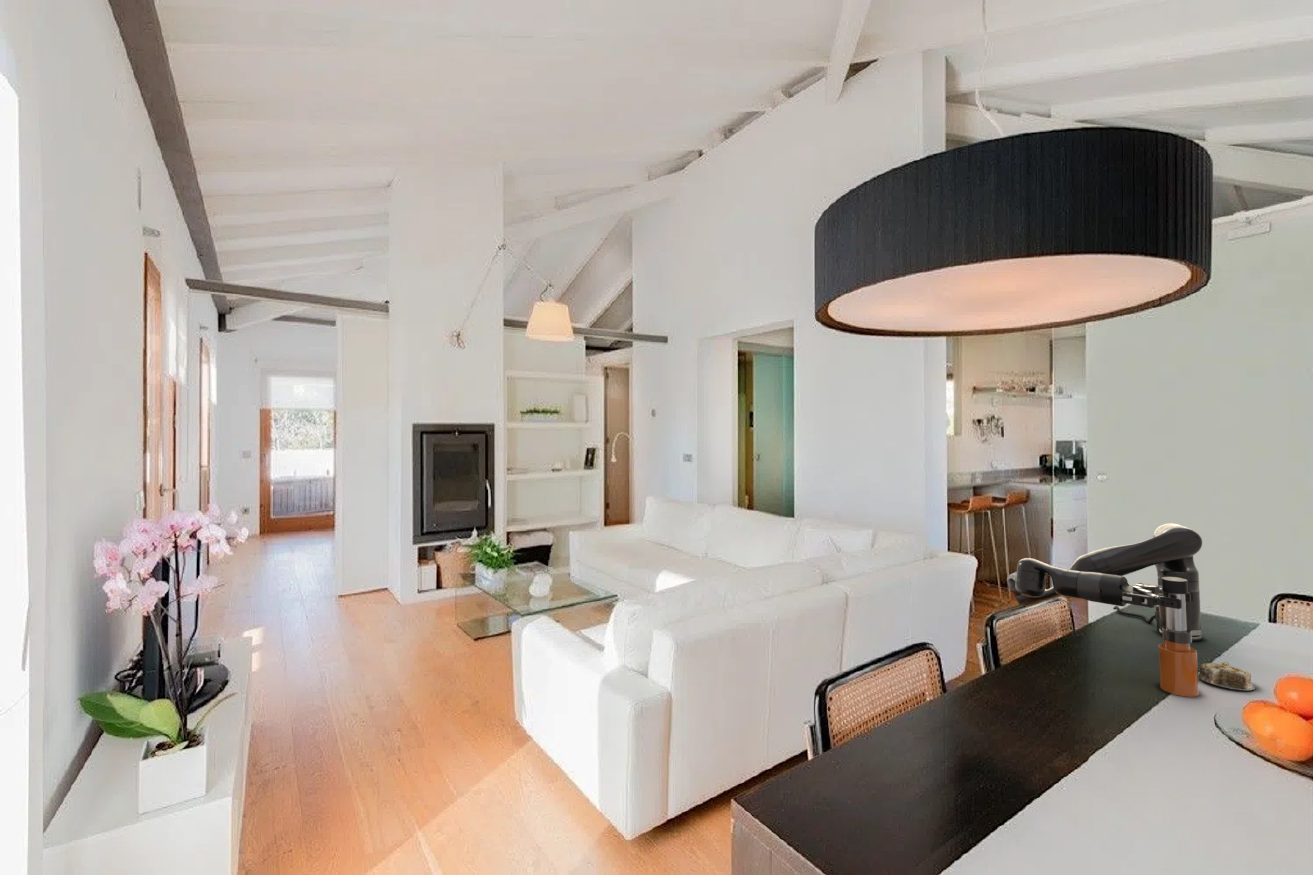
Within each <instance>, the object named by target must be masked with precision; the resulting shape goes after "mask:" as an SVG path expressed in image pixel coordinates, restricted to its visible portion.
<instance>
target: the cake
mask: <svg viewBox="0 0 1313 875" xmlns="http://www.w3.org/2000/svg"><path fill="white" fill-rule="evenodd" d="M1198 679H1200V680H1201V681H1203V682H1205V683H1208V684H1211V685H1214V686H1218V687H1222V688H1227V689H1231V690H1238V691H1254V690H1255V689H1256V687H1255V685H1253V683H1252V674H1251V672H1250V671H1248V670H1245V669H1243V668H1241V667H1238V666H1234V665H1230V663H1229V662H1228V661H1223V662H1220V663H1217V662H1207V663H1206V662H1205V663H1202V664H1201V665H1200V667H1199V670H1198Z"/></svg>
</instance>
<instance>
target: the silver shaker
mask: <svg viewBox="0 0 1313 875" xmlns="http://www.w3.org/2000/svg"><path fill="white" fill-rule="evenodd" d="M1162 591H1164V592H1165V597H1169V598H1176V599H1180V600H1181V601H1182V608H1181V609H1175V608H1169V607H1166V628H1167V629H1169V630H1172V631H1177V632H1186V631H1187V625H1186V601H1185V594H1187V593H1188V581H1187V580H1186V579H1183V578H1177V577H1162Z"/></svg>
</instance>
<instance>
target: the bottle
mask: <svg viewBox="0 0 1313 875" xmlns="http://www.w3.org/2000/svg"><path fill="white" fill-rule="evenodd" d="M1161 635H1162V636H1161V637H1162V639H1163V640H1164V643H1159V644H1158V646H1157V647H1158V667H1159V668H1158V669H1159V687H1160V689H1161V690H1162V691H1164V692H1167V693H1169V694H1172V695H1175V696H1180V697H1189V698H1193V697H1194V698H1195V697H1199V695H1200V689H1199V678H1198V675H1199V667H1198V666H1199V664H1198V651H1197V650H1196V648H1193V647H1191V644H1192V643H1193V641H1192V632H1191V631H1190V630H1188V629H1187V631H1186V632H1177V631H1172V630H1169V629H1167V628H1166V626H1164V627H1162V634H1161Z"/></svg>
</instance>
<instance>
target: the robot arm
mask: <svg viewBox="0 0 1313 875" xmlns="http://www.w3.org/2000/svg"><path fill="white" fill-rule="evenodd" d="M1202 546H1203V539H1202V536H1200V534H1199V533H1198V532H1196V531H1195V530H1193V529H1191V528H1190V527H1187V526H1184V525H1181V524H1178V523H1164V524H1161V525H1160V526H1158V527H1156V529H1155V530H1154V531H1153V536H1152V537H1150V538H1148V539H1145V540H1143V541H1139V542H1136V543H1131V544H1123V545H1122V544H1121V545H1116V546H1110V547H1109V546H1108V547H1104V548H1099V549H1098V550H1094V551H1091V552H1088V553H1085V554H1082V555H1080V556H1078V557H1077V558H1076V559H1075V560H1074V561H1073V562H1072V564H1071V565H1070V567H1069V568H1068V569H1065V568H1061V567H1056V566H1054V565H1051V564H1049V563H1045V562H1044V561H1041V560H1038V559H1035V558H1032V557H1031V558H1030V557H1026V558H1025V557H1024V558H1022V559H1019V560H1018V562H1017V564H1016V571H1014V572H1012V573H1010V574H1009V575H1008V576H1007V578H1006V582H1007V585H1008V587H1009V588H1010V591H1011V593H1012V595H1013V596H1014V598H1015V600H1016V601H1017V603H1018V605H1019V606H1020V607H1022V606H1023V605H1026V604H1028V605H1026V607H1025V608H1028V607H1033V606H1037V605H1039V604H1043V603H1045V602H1048V601H1051V600H1053V599H1056V598H1058V597H1061V596H1064V597H1069V598H1074V599H1075V598H1076V599H1081V600H1086V601H1089V602H1093V603H1099V604H1106V605H1111V606H1113V608H1112V609H1113V610H1116V611H1117V612H1118V611H1119V612H1118V613H1120V614H1122V615H1124V616H1129V617H1130V616H1131V617H1135V618H1140V619H1143V620H1145V622H1146V623H1147V624H1151V623H1153V621H1154V620H1155V622H1156V631H1157V632H1158V633H1159V634H1160V635H1162V627H1164V626H1166V607H1169V608H1175V609H1181V608H1182V601H1181V600H1180V599H1176V598H1169V597H1165V592H1164V591H1162V577H1177V578H1183V579H1186V580H1187V581H1188V593H1187V594H1185V601H1186V625H1187V629H1188V630H1190V631H1191V632H1192V642H1199V641H1201V640H1202V639H1203V635H1202V617H1201V615H1202V614H1201V596H1200V595H1201V594H1200V574H1199V573H1200V572H1199V570H1198V569H1197V566H1196V564H1195V560H1194V556H1195V555H1196V554H1198V553H1199V551H1201V549H1202ZM1152 566H1155V569H1156V573H1157V574H1156V575H1157V584H1151V583H1143V582H1138V583H1136V584H1135V585H1130V584H1129V583H1128V582H1129V581H1128V579H1127V577H1125V576H1126V575H1130V574H1132V573H1136V572H1139V571H1141V570H1144V569H1146V568H1149V567H1152ZM1047 575H1049V577H1050V578H1051V582H1052V587H1050V588H1046V587H1047V586H1046V585H1047V584H1046V583H1047ZM1127 604H1128V605H1134V606H1139V607H1145V608H1149V609H1154V608H1155V611H1154V614H1153V615H1151V617H1150V618H1148V617H1147V616H1145V615H1142V614H1138V613H1133V612H1127V611H1123V610H1121V609H1120V607H1125V606H1126V605H1127Z"/></svg>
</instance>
